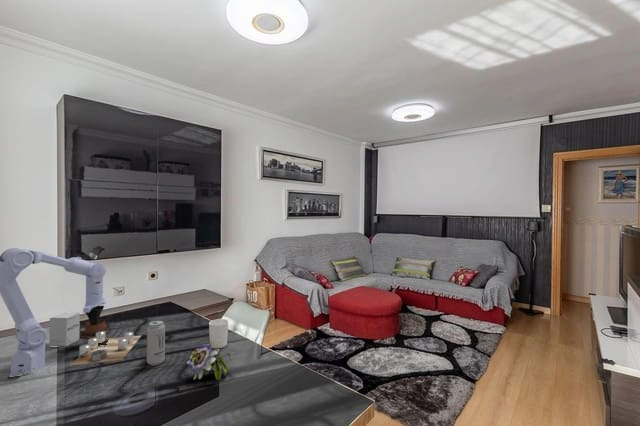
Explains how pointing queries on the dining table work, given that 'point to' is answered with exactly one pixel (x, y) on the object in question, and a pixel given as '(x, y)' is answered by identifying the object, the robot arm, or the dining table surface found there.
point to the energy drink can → (155, 343)
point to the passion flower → (206, 361)
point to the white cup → (218, 332)
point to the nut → (98, 355)
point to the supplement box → (64, 329)
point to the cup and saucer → (93, 329)
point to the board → (108, 351)
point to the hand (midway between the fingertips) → (94, 324)
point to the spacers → (100, 337)
